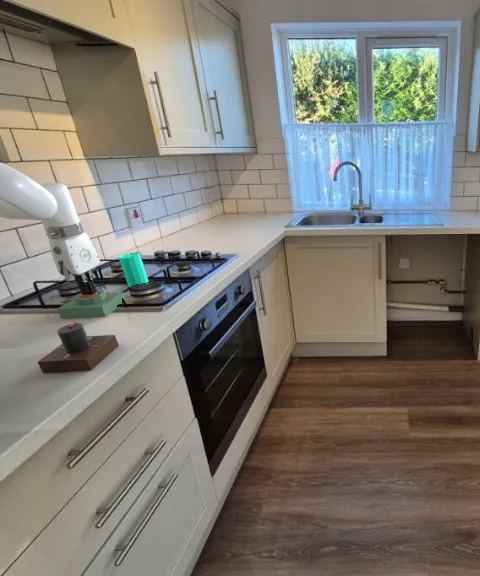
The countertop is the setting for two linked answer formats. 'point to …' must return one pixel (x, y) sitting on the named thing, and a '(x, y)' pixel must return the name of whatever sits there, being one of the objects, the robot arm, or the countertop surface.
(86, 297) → the orange push button
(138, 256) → the candle
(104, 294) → the green button box
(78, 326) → the dial
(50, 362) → the brown dial base
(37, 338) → the countertop surface
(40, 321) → the countertop surface
